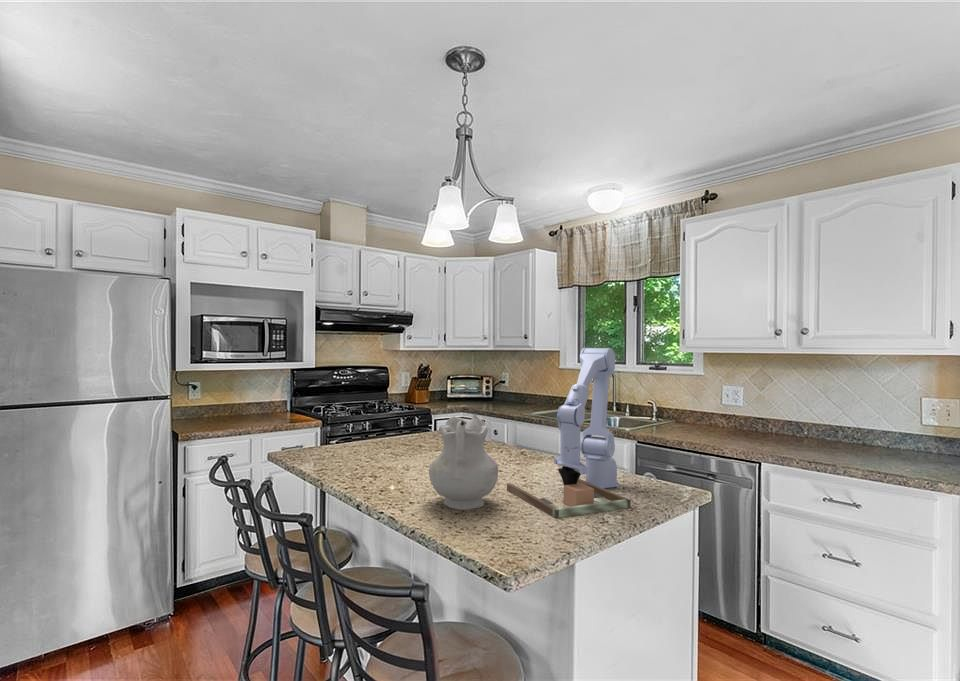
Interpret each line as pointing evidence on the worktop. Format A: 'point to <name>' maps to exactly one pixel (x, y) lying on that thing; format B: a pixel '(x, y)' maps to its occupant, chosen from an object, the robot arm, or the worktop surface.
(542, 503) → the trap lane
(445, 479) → the ceramic pitcher
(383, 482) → the worktop surface
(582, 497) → the block
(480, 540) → the worktop surface
